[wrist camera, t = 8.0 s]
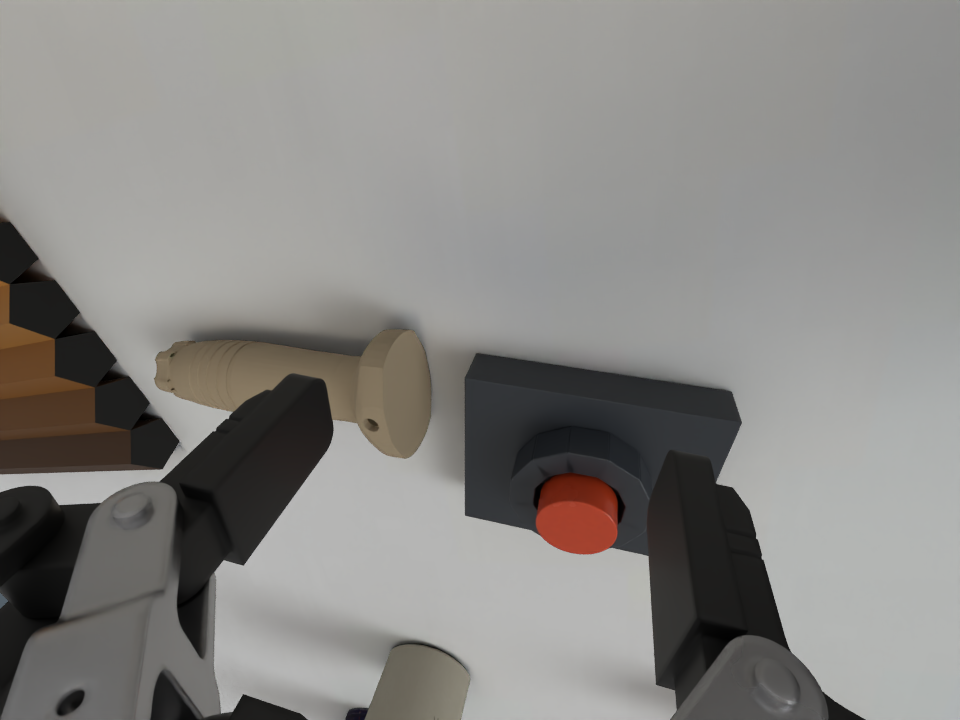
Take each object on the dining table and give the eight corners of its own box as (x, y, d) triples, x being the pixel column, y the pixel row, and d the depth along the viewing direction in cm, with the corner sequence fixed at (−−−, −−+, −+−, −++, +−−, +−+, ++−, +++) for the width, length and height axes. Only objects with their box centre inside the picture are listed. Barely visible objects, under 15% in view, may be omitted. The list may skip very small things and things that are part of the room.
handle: (184, 300, 27) (418, 313, 23) (226, 389, 31) (437, 415, 26) (108, 342, 24) (371, 367, 19) (166, 438, 27) (401, 478, 23)
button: (624, 480, 21) (624, 511, 19) (610, 530, 23) (609, 562, 21) (544, 464, 22) (539, 494, 20) (537, 514, 24) (532, 544, 22)
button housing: (732, 391, 21) (752, 452, 18) (676, 529, 27) (684, 595, 24) (476, 352, 23) (453, 401, 20) (474, 487, 29) (455, 542, 26)
